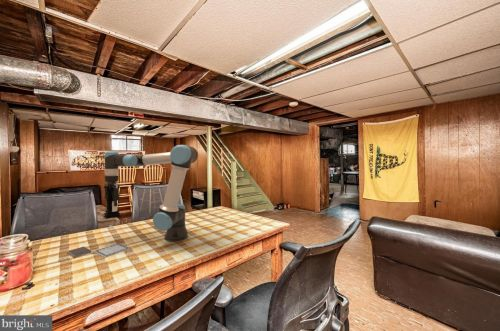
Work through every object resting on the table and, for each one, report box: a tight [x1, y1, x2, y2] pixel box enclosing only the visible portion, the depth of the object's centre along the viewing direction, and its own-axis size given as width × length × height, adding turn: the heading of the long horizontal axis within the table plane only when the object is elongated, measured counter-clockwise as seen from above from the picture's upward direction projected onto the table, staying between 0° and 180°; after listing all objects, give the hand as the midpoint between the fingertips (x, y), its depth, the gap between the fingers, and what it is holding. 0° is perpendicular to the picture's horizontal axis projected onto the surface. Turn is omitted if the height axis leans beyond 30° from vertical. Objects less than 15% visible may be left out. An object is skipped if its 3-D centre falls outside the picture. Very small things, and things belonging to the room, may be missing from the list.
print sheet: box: [93, 242, 132, 258], centre depth 122 cm, size 14×14×1 cm
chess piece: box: [102, 185, 122, 220], centre depth 133 cm, size 8×8×20 cm
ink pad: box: [66, 246, 92, 258], centre depth 118 cm, size 8×10×2 cm
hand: (111, 210), depth 133 cm, fingers closed on chess piece, 7 cm apart
